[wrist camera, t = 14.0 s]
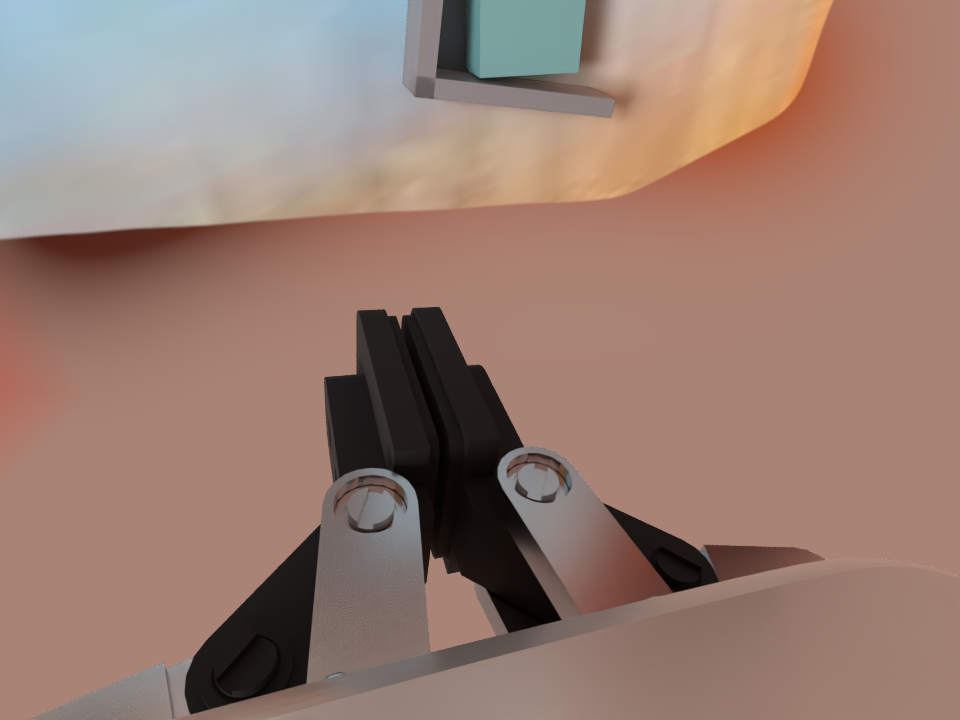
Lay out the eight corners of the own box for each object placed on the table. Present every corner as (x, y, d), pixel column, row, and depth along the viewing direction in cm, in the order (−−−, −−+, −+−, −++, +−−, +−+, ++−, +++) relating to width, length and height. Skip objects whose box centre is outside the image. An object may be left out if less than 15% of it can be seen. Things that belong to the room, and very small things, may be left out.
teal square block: (464, -58, 35) (480, -57, 32) (567, -58, 36) (591, -56, 34) (465, 67, 39) (480, 78, 36) (557, 63, 40) (578, 72, 38)
